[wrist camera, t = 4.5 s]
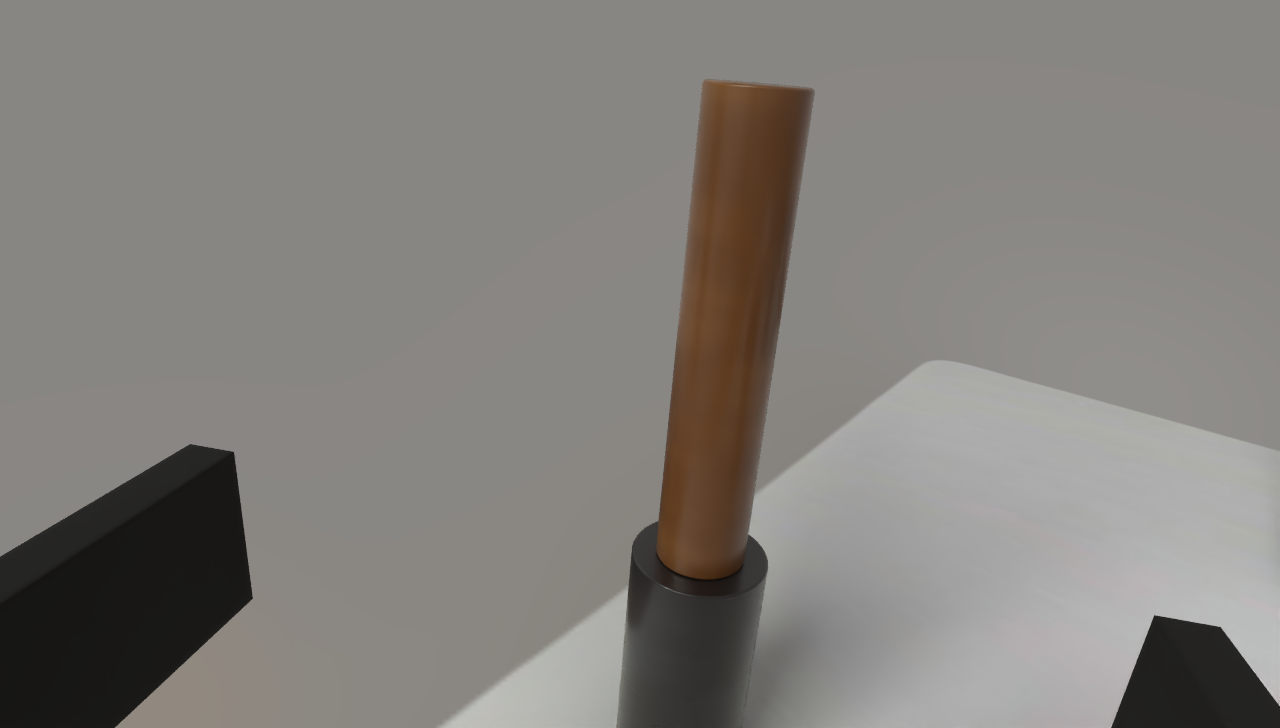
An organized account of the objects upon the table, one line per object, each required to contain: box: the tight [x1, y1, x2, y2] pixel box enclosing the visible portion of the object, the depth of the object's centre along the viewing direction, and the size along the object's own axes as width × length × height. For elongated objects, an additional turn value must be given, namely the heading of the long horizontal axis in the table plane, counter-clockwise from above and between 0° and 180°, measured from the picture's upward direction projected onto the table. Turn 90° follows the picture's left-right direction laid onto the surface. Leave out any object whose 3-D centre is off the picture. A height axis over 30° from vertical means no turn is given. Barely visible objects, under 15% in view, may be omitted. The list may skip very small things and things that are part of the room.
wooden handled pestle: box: [617, 79, 815, 728], centre depth 22 cm, size 4×4×20 cm
